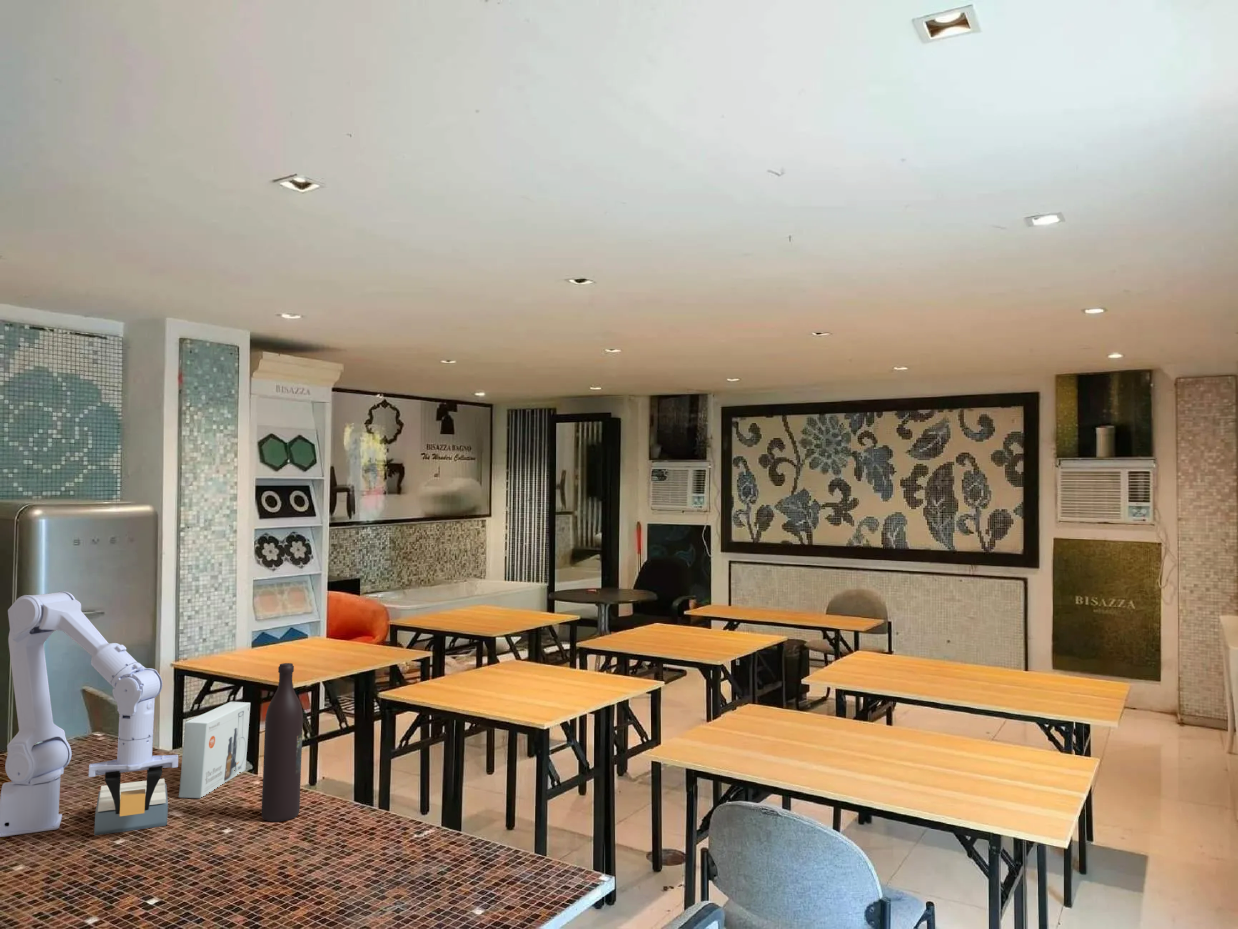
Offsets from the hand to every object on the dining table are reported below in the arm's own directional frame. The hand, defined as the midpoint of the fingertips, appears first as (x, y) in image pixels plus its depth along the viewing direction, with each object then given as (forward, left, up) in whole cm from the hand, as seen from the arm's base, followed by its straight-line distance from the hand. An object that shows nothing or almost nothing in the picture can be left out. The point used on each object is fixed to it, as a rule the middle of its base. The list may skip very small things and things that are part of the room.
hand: (132, 810), depth 161 cm
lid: (0, +8, 0) cm, 8 cm away
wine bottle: (+26, -1, -5) cm, 26 cm away
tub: (0, +10, -5) cm, 11 cm away
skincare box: (+16, +27, -5) cm, 32 cm away
